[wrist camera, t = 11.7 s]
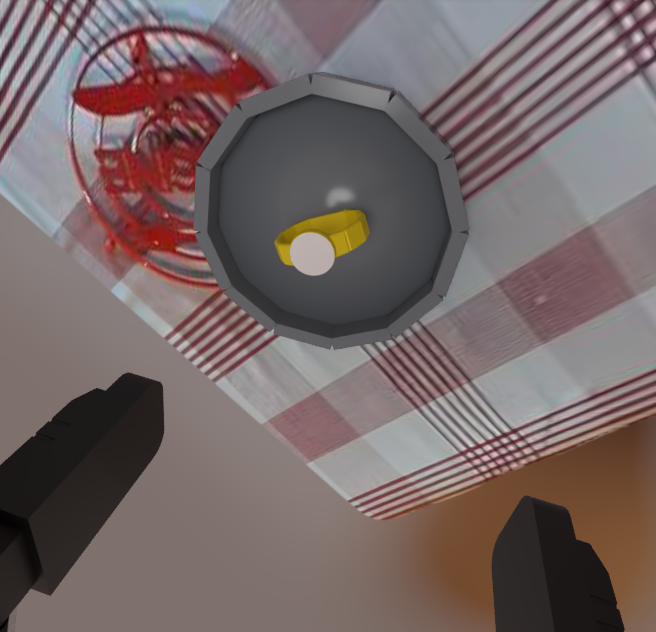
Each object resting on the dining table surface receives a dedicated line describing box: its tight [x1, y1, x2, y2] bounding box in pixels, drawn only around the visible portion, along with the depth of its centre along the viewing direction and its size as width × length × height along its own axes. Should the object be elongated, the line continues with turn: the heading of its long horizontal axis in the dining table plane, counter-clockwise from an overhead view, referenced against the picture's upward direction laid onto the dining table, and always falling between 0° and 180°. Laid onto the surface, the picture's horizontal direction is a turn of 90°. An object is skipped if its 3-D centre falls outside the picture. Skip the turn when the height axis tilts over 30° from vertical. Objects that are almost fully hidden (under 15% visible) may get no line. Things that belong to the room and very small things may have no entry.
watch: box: [274, 209, 370, 276], centre depth 30 cm, size 6×3×6 cm, turn 107°
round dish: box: [194, 72, 469, 350], centre depth 32 cm, size 18×18×2 cm
